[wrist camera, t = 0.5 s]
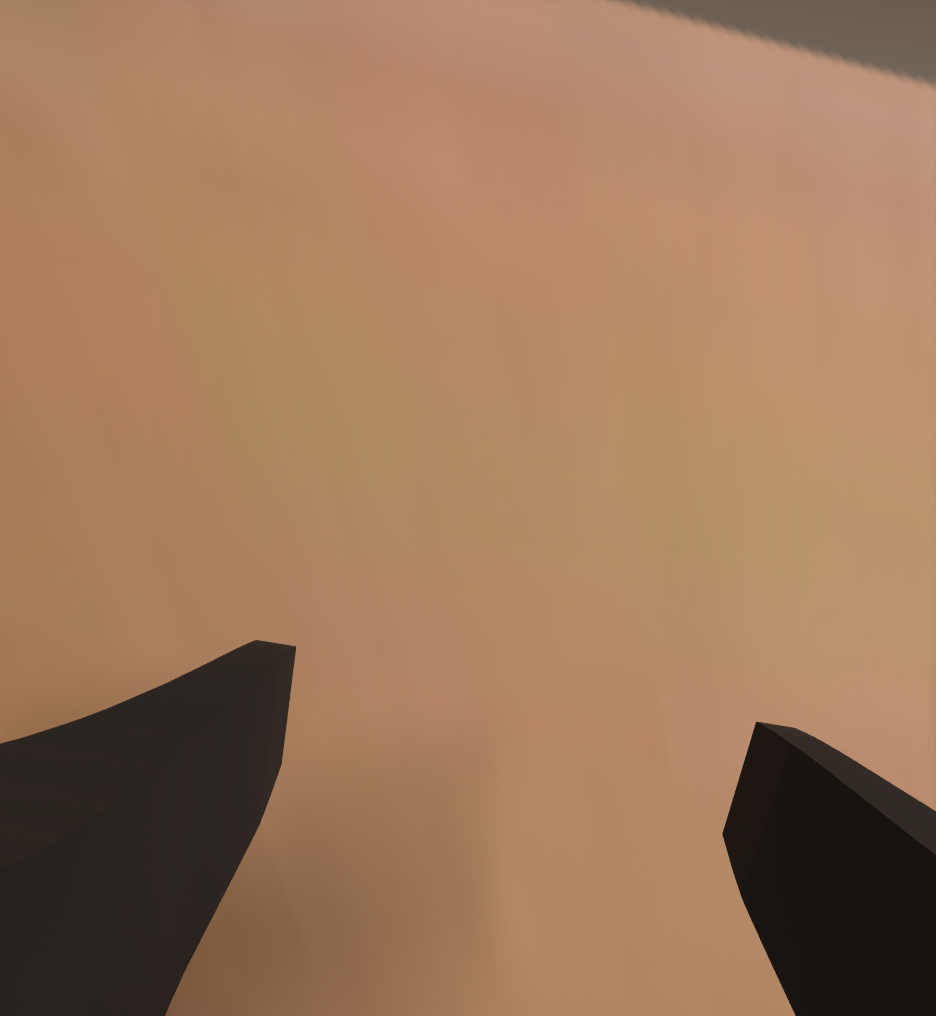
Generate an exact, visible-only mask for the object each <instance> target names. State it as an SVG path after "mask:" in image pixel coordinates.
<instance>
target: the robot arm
mask: <svg viewBox="0 0 936 1016" xmlns="http://www.w3.org/2000/svg"><path fill="white" fill-rule="evenodd" d="M295 652H296V646H290V645H284V644H278V643H272V642H265V641H259V640H255V641H253V642H250V643H248V644H245V645H243V646H241V647H239V648H237V649H235V650H233V651H231V652H229V653H227V654H225V655H223V656H221V657H219V658H217V659H215V660H213V661H211V662H209V663H207V664H205V665H203V666H201V667H199V668H197V669H195V670H193V671H191V672H189V673H187V674H185V675H182V676H180V677H178V678H176V679H174V680H172V681H170V682H168V683H166V684H164V685H161V686H159V687H157V688H154V689H152V690H150V691H147V692H145V693H143V694H140V695H138V696H136V697H133V698H131V699H129V700H126V701H124V702H122V703H119V704H117V705H115V706H112V707H110V708H108V709H105V710H103V711H100V712H97V713H95V714H92V715H89V716H87V717H84V718H81V719H78V720H76V721H73V722H70V723H67V724H64V725H61V726H58V727H55V728H52V729H48V730H45V731H42V732H39V733H36V734H33V735H30V736H26V737H23V738H20V739H16V740H13V741H9V742H5V743H1V744H0V1016H165V1014H166V1012H167V1010H168V1007H169V1005H170V1002H171V1000H172V998H173V996H174V993H175V991H176V989H177V987H178V985H179V983H180V981H181V978H182V976H183V974H184V972H185V970H186V968H187V965H188V963H189V962H190V960H191V958H192V956H193V954H194V952H195V950H196V948H197V946H198V944H199V942H200V940H201V938H202V936H203V934H204V932H205V930H206V928H207V927H208V925H209V923H210V921H211V919H212V917H213V915H214V913H215V911H216V909H217V907H218V905H219V903H220V901H221V899H222V897H223V895H224V894H225V892H226V890H227V888H228V886H229V884H230V882H231V880H232V878H233V876H234V874H235V872H236V870H237V868H238V866H239V864H240V862H241V860H242V858H243V856H244V854H245V853H246V851H247V849H248V847H249V845H250V843H251V841H252V839H253V837H254V835H255V833H256V831H257V829H258V827H259V825H260V822H261V820H262V817H263V814H264V812H265V809H266V806H267V804H268V801H269V798H270V796H271V793H272V790H273V787H274V784H275V781H276V779H277V776H278V773H279V770H280V767H281V764H282V756H283V748H284V740H285V732H286V724H287V716H288V708H289V700H290V692H291V684H292V676H293V668H294V660H295ZM723 838H724V841H725V845H726V848H727V852H728V855H729V859H730V862H731V866H732V869H733V872H734V876H735V879H736V882H737V885H738V888H739V891H740V894H741V897H742V899H743V902H744V904H745V906H746V909H747V911H748V913H749V916H750V918H751V920H752V922H753V924H754V927H755V929H756V931H757V933H758V935H759V938H760V940H761V942H762V944H763V946H764V949H765V951H766V953H767V955H768V957H769V960H770V962H771V964H772V966H773V968H774V970H775V972H776V975H777V977H778V979H779V981H780V983H781V985H782V987H783V990H784V992H785V994H786V996H787V998H788V1000H789V1003H790V1005H791V1007H792V1009H793V1011H794V1013H795V1015H796V1016H936V811H934V810H933V809H931V808H930V807H928V806H926V805H925V804H923V803H922V802H920V801H918V800H917V799H915V798H913V797H912V796H910V795H909V794H907V793H905V792H904V791H902V790H901V789H899V788H897V787H896V786H894V785H893V784H891V783H890V782H888V781H886V780H885V779H883V778H882V777H880V776H878V775H877V774H875V773H874V772H872V771H870V770H869V769H867V768H866V767H864V766H862V765H861V764H859V763H857V762H856V761H854V760H853V759H851V758H849V757H848V756H846V755H844V754H843V753H841V752H839V751H838V750H836V749H834V748H833V747H831V746H829V745H828V744H826V743H824V742H822V741H820V740H819V739H817V738H815V737H813V736H811V735H809V734H807V733H805V732H803V731H800V730H798V729H796V728H792V727H786V726H780V725H774V724H768V723H762V722H756V724H755V728H754V731H753V734H752V738H751V741H750V744H749V747H748V751H747V754H746V757H745V761H744V764H743V767H742V771H741V774H740V777H739V781H738V784H737V787H736V791H735V794H734V797H733V801H732V804H731V807H730V811H729V814H728V817H727V821H726V824H725V827H724V831H723Z"/></svg>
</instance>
